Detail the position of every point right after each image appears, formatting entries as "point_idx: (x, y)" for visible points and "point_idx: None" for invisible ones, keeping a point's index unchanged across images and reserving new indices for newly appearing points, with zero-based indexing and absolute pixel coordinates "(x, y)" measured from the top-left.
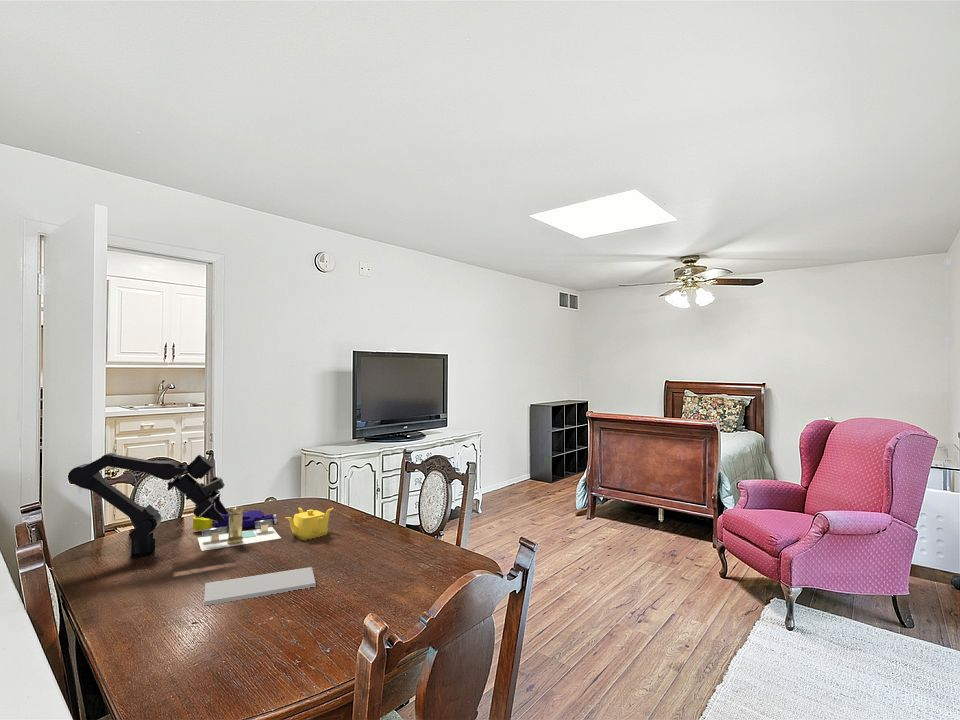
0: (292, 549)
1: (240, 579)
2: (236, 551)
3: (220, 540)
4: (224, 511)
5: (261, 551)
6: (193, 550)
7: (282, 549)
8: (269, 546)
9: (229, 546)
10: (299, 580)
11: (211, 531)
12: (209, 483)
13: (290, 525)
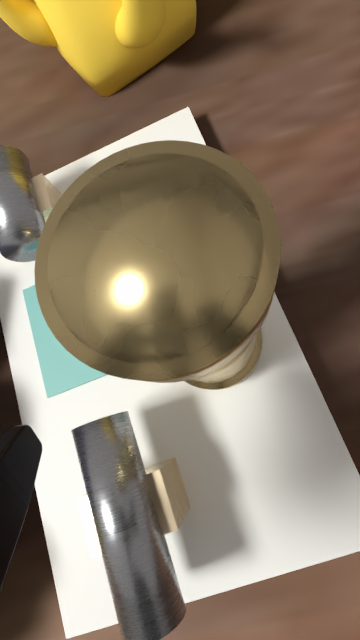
0: (334, 32)
1: None
2: (337, 307)
3: (164, 448)
4: (10, 475)
5: (352, 168)
6: (280, 611)
7: (328, 76)
8: (266, 153)
9: (303, 356)
10: None
11: (153, 541)
12: None
13: (146, 8)
